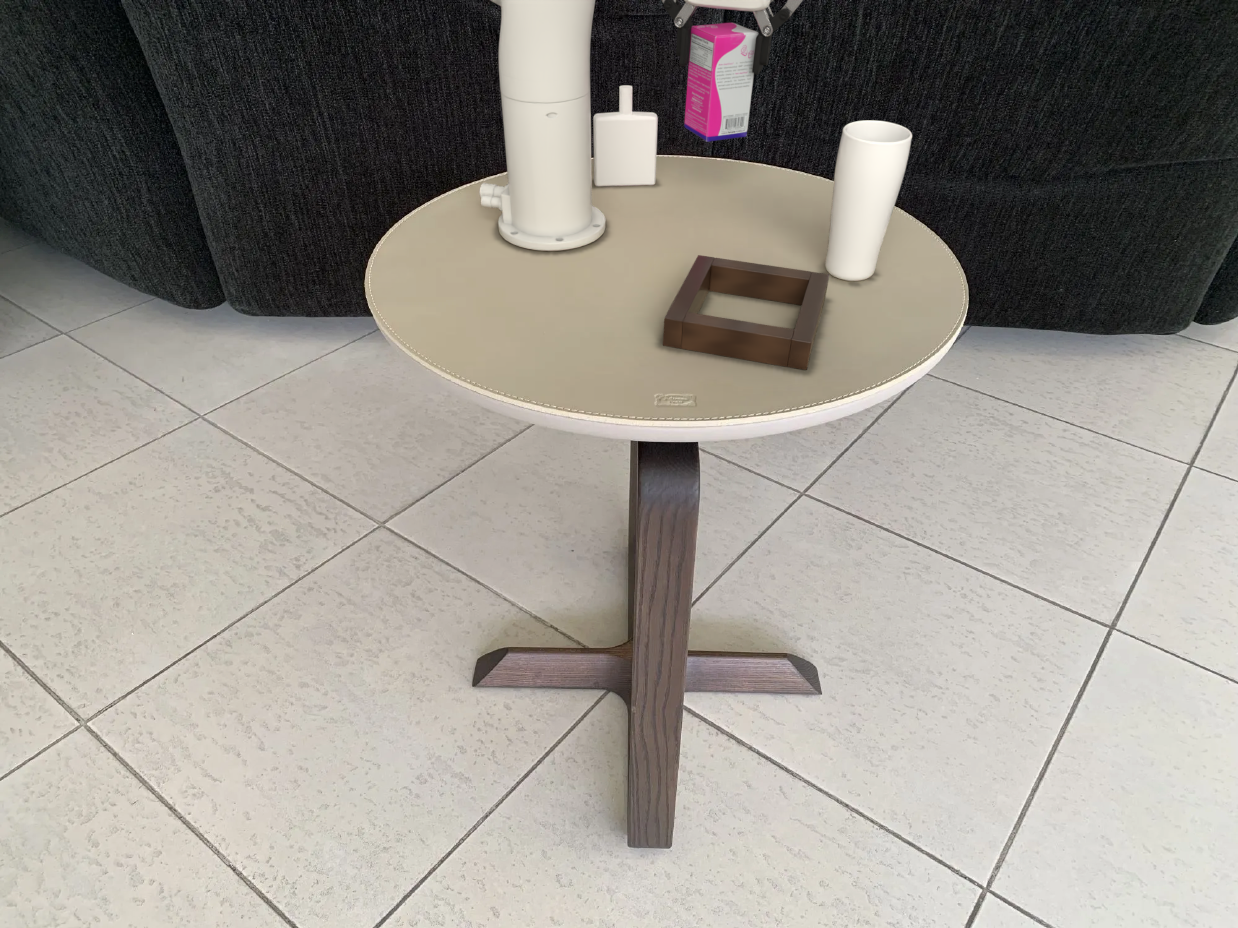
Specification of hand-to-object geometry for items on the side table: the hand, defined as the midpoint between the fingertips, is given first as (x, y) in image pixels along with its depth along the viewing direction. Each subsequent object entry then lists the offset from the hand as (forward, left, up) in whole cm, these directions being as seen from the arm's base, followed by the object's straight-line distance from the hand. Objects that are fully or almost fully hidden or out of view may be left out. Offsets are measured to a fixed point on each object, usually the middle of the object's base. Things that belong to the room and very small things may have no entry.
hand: (721, 66), depth 96 cm
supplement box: (0, 0, -8) cm, 8 cm away
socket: (+10, -30, -15) cm, 35 cm away
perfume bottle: (-12, 0, -16) cm, 19 cm away
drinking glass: (+19, -16, -16) cm, 29 cm away
